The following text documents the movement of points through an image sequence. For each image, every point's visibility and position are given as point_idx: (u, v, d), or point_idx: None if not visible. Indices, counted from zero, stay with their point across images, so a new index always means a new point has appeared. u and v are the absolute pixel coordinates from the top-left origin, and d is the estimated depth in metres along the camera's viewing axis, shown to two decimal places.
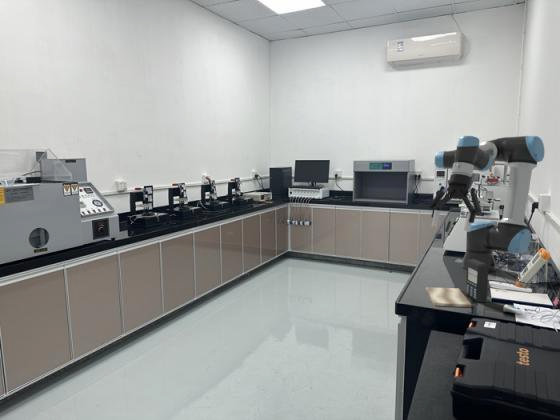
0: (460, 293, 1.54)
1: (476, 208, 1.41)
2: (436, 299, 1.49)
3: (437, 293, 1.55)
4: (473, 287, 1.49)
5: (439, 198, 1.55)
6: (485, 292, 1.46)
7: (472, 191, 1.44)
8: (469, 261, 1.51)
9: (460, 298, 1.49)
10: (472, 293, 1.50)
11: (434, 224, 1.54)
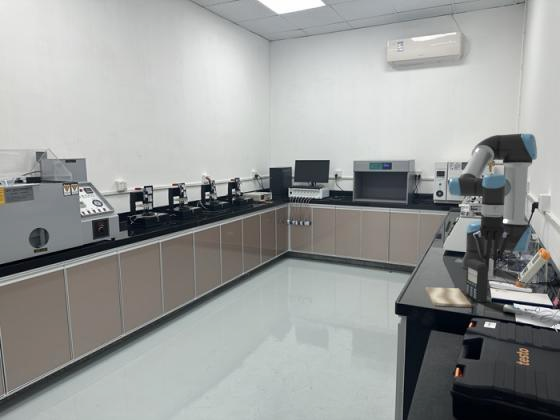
0: (460, 293, 1.54)
1: (501, 255, 1.46)
2: (436, 299, 1.49)
3: (437, 293, 1.55)
4: (473, 287, 1.49)
5: None
6: (485, 292, 1.46)
7: (507, 237, 1.45)
8: (469, 261, 1.51)
9: (460, 298, 1.49)
10: (472, 293, 1.50)
11: None
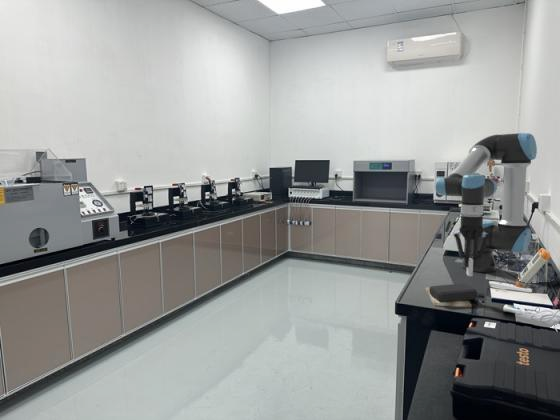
0: None
1: (480, 254, 1.47)
2: (436, 299, 1.49)
3: None
4: None
5: None
6: (467, 293, 1.46)
7: (486, 237, 1.46)
8: (432, 295, 1.52)
9: None
10: None
11: None
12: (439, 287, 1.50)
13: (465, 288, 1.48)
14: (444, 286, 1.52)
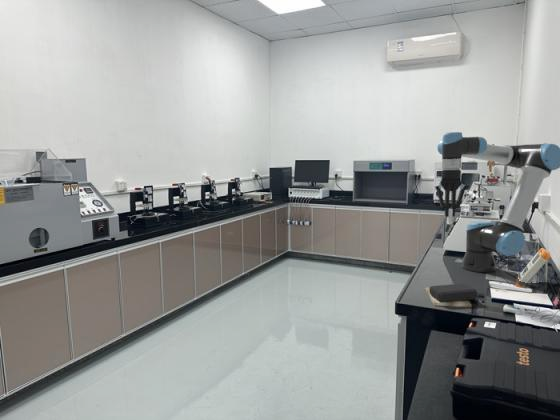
0: None
1: (459, 204, 1.64)
2: (436, 299, 1.49)
3: None
4: None
5: (441, 195, 1.66)
6: (467, 293, 1.46)
7: (464, 188, 1.63)
8: (432, 295, 1.52)
9: None
10: None
11: None
12: (439, 287, 1.50)
13: (465, 288, 1.48)
14: (444, 286, 1.52)
